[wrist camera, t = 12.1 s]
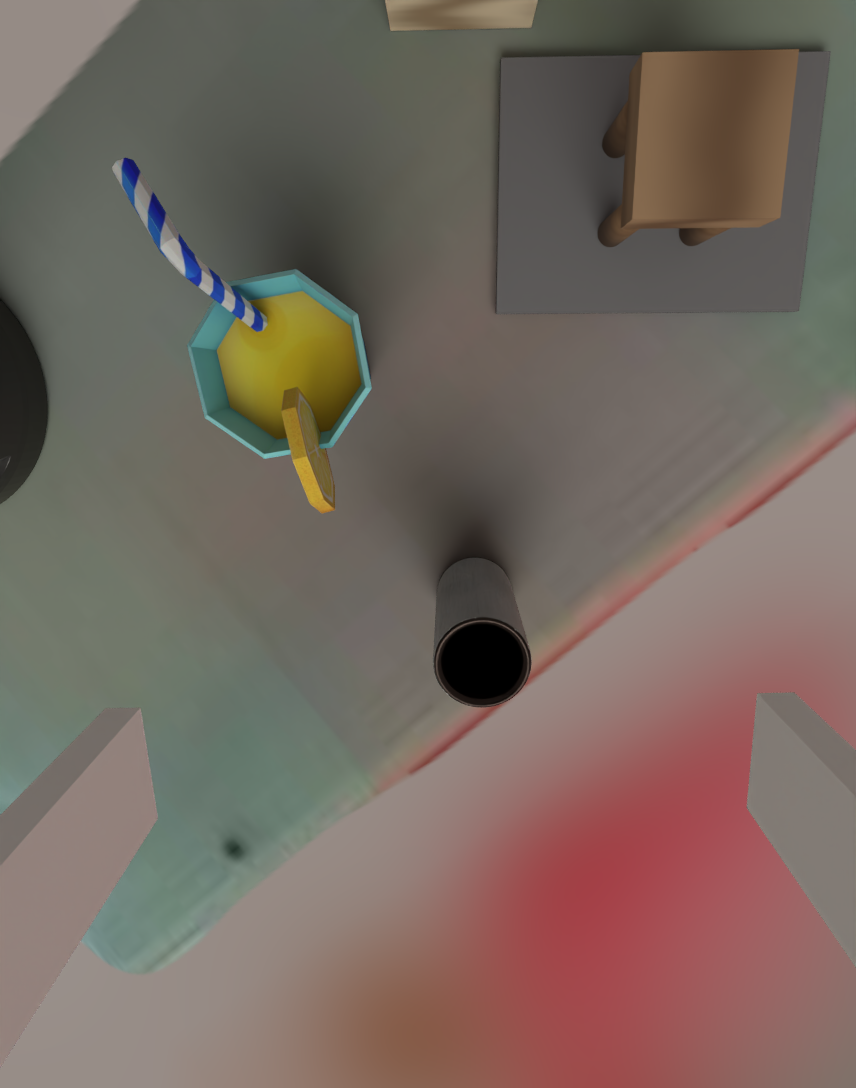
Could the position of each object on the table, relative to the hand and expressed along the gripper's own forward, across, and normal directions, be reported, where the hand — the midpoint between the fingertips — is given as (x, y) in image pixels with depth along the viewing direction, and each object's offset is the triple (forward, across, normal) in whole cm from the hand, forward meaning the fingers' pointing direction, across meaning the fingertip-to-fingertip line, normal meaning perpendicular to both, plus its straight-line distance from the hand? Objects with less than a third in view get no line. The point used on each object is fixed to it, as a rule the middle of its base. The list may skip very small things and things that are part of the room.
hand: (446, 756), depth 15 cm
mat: (+26, +11, +16) cm, 33 cm away
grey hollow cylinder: (+27, +2, -5) cm, 27 cm away
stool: (+26, +11, +16) cm, 33 cm away
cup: (+27, -7, +9) cm, 29 cm away
